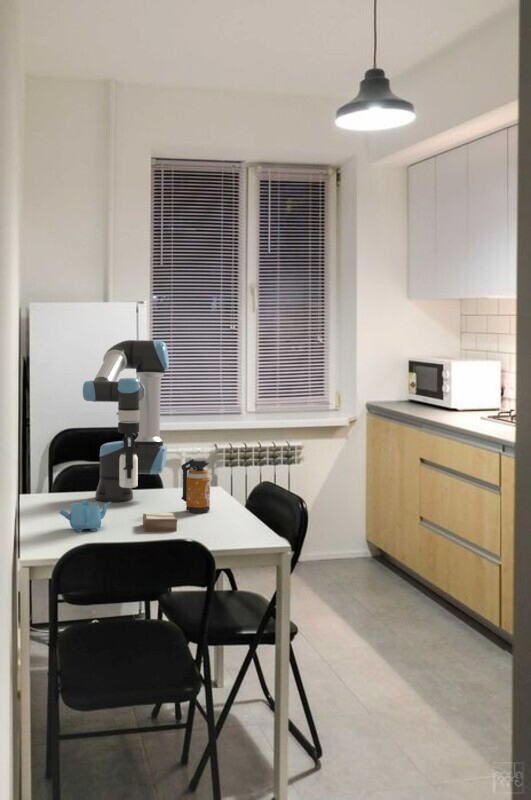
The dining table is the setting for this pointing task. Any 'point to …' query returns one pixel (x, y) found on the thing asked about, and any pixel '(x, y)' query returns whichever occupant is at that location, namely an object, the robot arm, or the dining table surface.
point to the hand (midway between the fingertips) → (128, 485)
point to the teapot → (85, 515)
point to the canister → (196, 486)
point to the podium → (159, 522)
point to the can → (122, 471)
